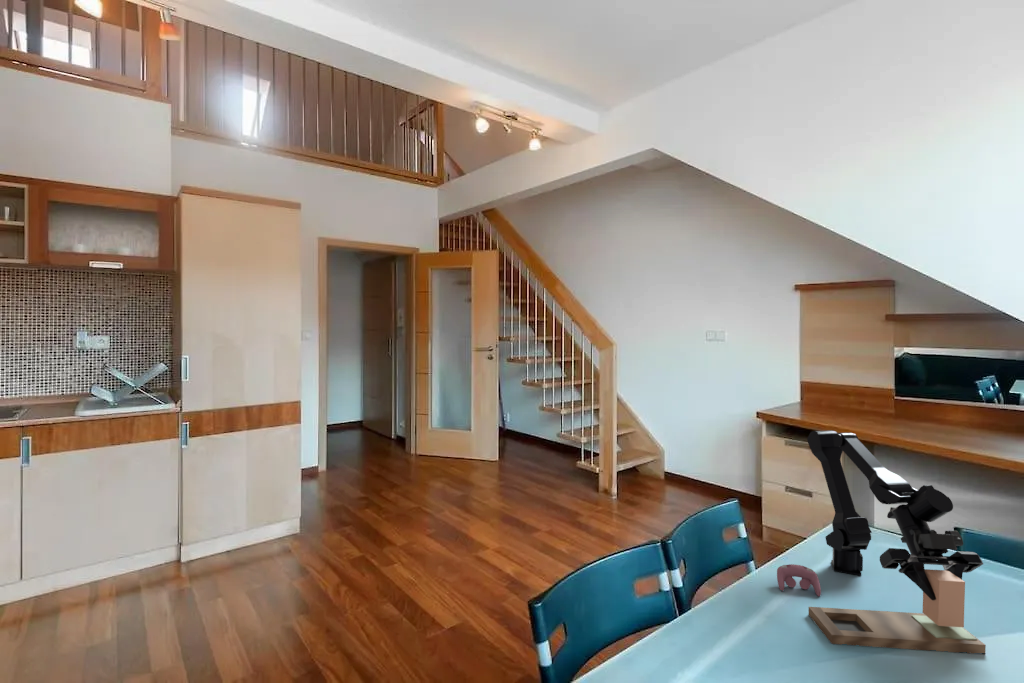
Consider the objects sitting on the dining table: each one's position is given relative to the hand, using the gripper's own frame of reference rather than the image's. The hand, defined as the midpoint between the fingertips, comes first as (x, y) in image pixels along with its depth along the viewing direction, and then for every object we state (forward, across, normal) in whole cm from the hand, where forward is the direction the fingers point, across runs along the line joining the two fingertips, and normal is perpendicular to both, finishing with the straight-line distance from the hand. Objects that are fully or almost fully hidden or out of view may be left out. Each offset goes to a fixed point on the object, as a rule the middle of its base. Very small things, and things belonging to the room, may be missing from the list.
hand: (947, 600), depth 110 cm
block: (+3, 0, +5) cm, 5 cm away
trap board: (+5, -9, +7) cm, 13 cm away
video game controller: (-7, -23, +20) cm, 31 cm away
